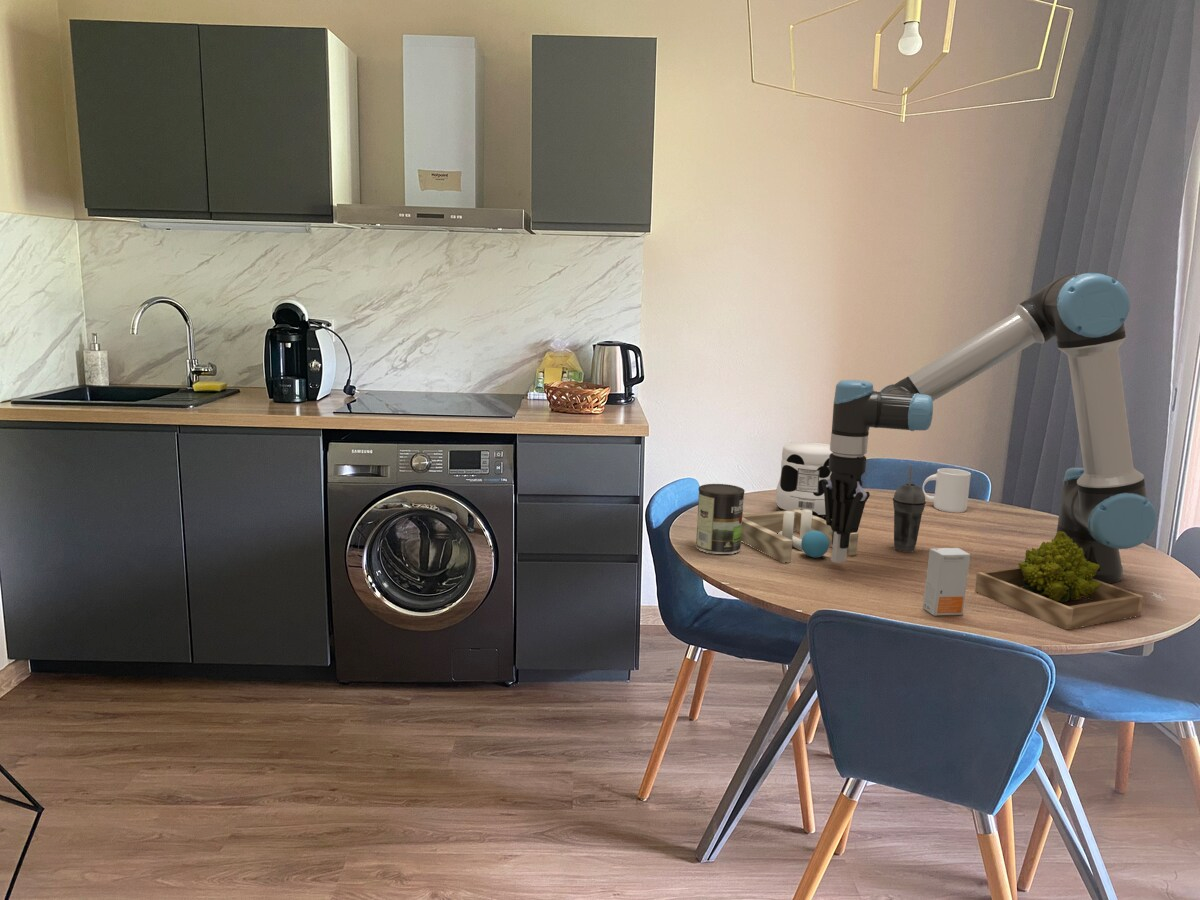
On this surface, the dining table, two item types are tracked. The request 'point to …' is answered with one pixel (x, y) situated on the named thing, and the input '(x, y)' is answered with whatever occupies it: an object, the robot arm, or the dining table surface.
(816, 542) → the ball
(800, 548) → the pin front
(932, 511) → the dining table surface
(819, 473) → the milk container
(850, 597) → the dining table surface
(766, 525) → the bumper
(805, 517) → the pin back right
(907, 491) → the beverage cup
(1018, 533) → the dining table surface
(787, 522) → the pin back left
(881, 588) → the dining table surface
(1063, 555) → the vegetable
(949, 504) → the mug
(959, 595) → the skincare box
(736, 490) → the coffee can
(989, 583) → the crate
